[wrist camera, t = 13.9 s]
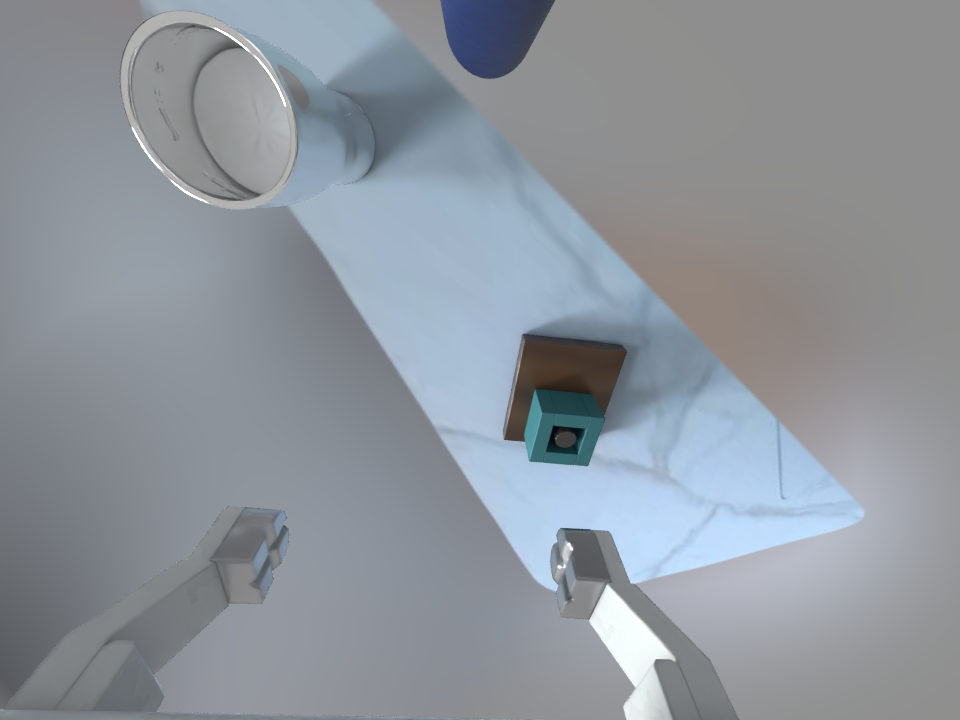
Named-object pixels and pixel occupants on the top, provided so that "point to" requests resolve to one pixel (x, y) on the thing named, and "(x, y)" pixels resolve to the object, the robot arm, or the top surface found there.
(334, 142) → the beer glass
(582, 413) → the teal hollow square block
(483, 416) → the top surface
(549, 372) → the base pad
